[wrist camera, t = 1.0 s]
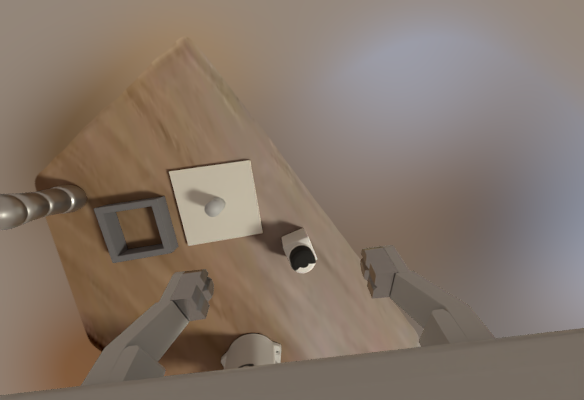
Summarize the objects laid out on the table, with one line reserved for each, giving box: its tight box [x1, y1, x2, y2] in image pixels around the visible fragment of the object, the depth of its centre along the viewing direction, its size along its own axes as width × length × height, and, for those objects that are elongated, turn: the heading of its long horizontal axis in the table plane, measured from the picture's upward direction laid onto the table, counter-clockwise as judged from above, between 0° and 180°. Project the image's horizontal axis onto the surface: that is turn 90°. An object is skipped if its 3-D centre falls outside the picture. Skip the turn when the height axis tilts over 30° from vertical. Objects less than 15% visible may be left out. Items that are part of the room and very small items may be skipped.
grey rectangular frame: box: [94, 196, 178, 263], centre depth 52 cm, size 14×14×4 cm
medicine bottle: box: [281, 228, 317, 273], centre depth 54 cm, size 7×7×12 cm
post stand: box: [169, 160, 263, 246], centre depth 51 cm, size 20×20×7 cm
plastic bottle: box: [0, 185, 87, 230], centre depth 41 cm, size 6×7×20 cm
